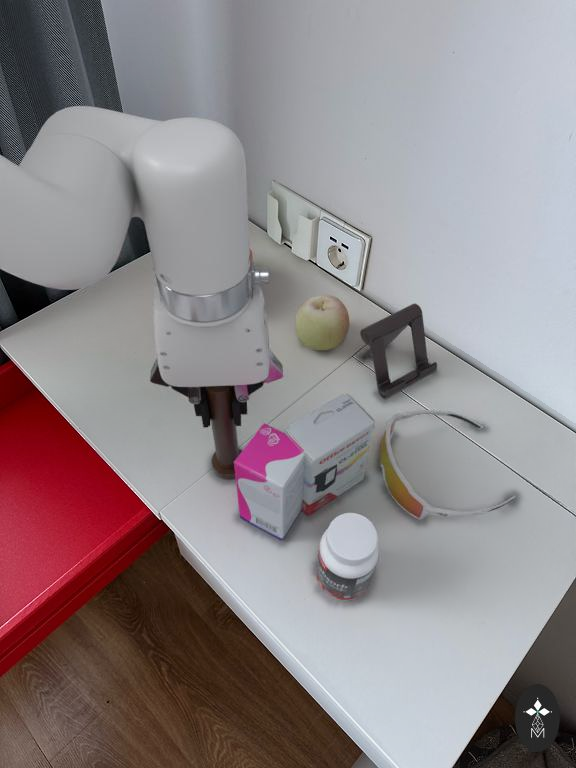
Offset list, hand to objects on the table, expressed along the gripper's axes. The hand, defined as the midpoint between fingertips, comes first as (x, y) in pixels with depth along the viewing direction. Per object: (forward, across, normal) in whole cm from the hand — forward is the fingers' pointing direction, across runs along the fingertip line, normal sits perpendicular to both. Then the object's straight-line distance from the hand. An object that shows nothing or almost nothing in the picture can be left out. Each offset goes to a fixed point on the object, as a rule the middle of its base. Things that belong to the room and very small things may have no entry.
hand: (222, 415), depth 61 cm
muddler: (+10, 0, 0) cm, 10 cm away
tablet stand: (+10, -22, -14) cm, 28 cm away
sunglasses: (+10, -25, +2) cm, 27 cm away
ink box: (+10, -11, +3) cm, 15 cm away
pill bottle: (+10, -12, +14) cm, 21 cm away
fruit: (+10, -13, -20) cm, 26 cm away
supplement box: (+10, -5, +6) cm, 13 cm away
